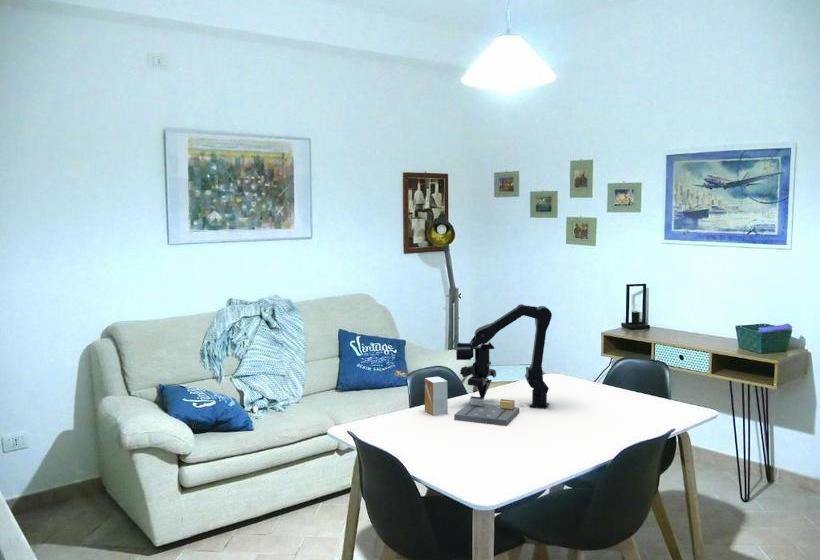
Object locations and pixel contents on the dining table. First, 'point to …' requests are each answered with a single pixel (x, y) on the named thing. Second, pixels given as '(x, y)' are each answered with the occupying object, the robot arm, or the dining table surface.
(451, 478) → the dining table surface
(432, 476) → the dining table surface
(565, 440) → the dining table surface
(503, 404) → the amber fader
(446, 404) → the small box
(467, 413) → the mixing board
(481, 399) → the block
